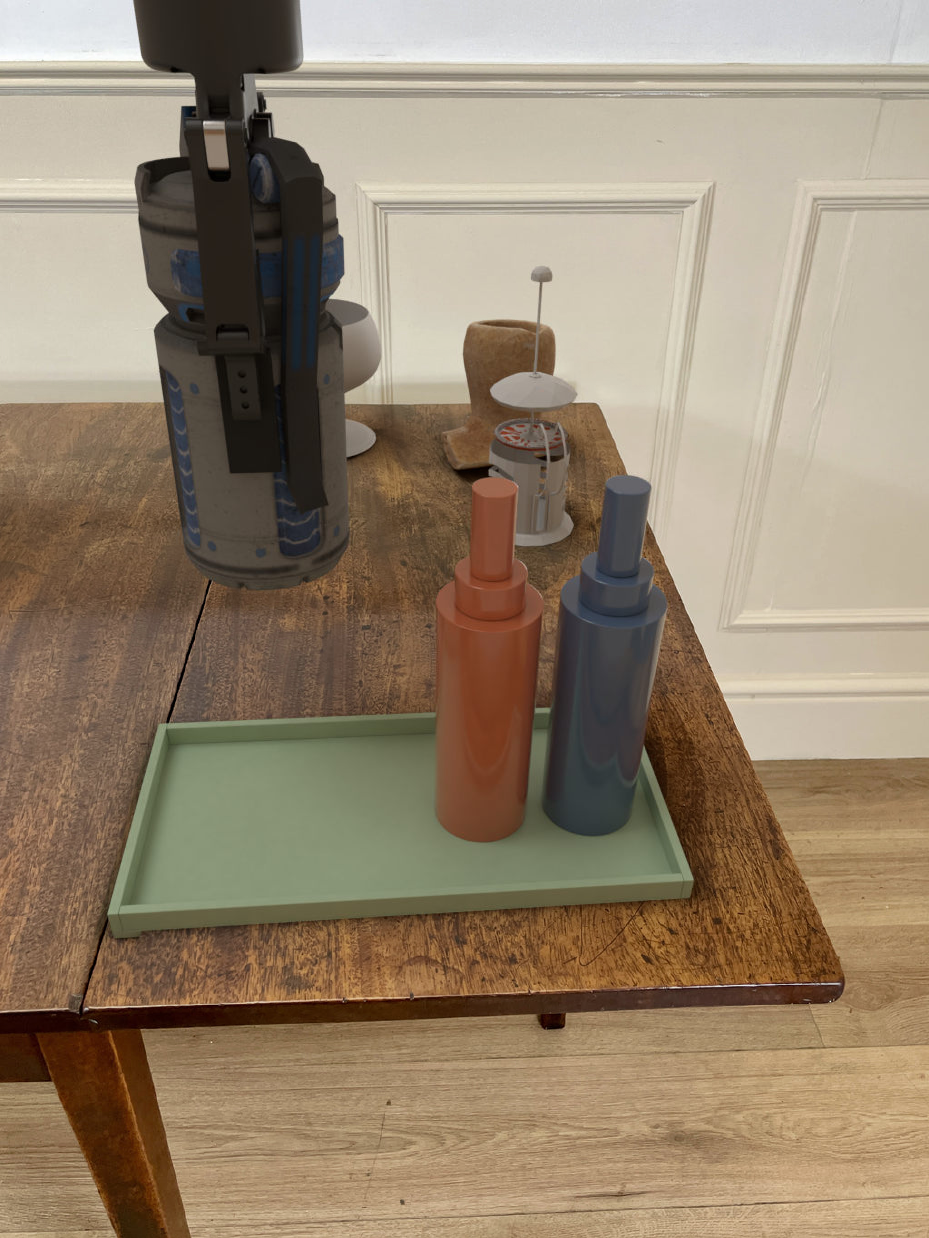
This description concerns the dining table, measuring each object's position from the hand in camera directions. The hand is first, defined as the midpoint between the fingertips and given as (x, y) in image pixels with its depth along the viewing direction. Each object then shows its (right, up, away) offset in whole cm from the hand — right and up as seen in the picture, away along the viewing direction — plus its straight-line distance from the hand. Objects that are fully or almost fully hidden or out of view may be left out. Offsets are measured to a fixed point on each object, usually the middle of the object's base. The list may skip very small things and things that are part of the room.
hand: (263, 430), depth 55 cm
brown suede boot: (+16, +8, +54) cm, 57 cm away
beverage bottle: (0, -8, +4) cm, 9 cm away
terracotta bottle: (+13, -23, +6) cm, 27 cm away
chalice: (-5, +10, +56) cm, 57 cm away
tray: (+8, -24, +6) cm, 26 cm away
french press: (+18, -2, +39) cm, 44 cm away
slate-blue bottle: (+20, -23, +7) cm, 31 cm away
